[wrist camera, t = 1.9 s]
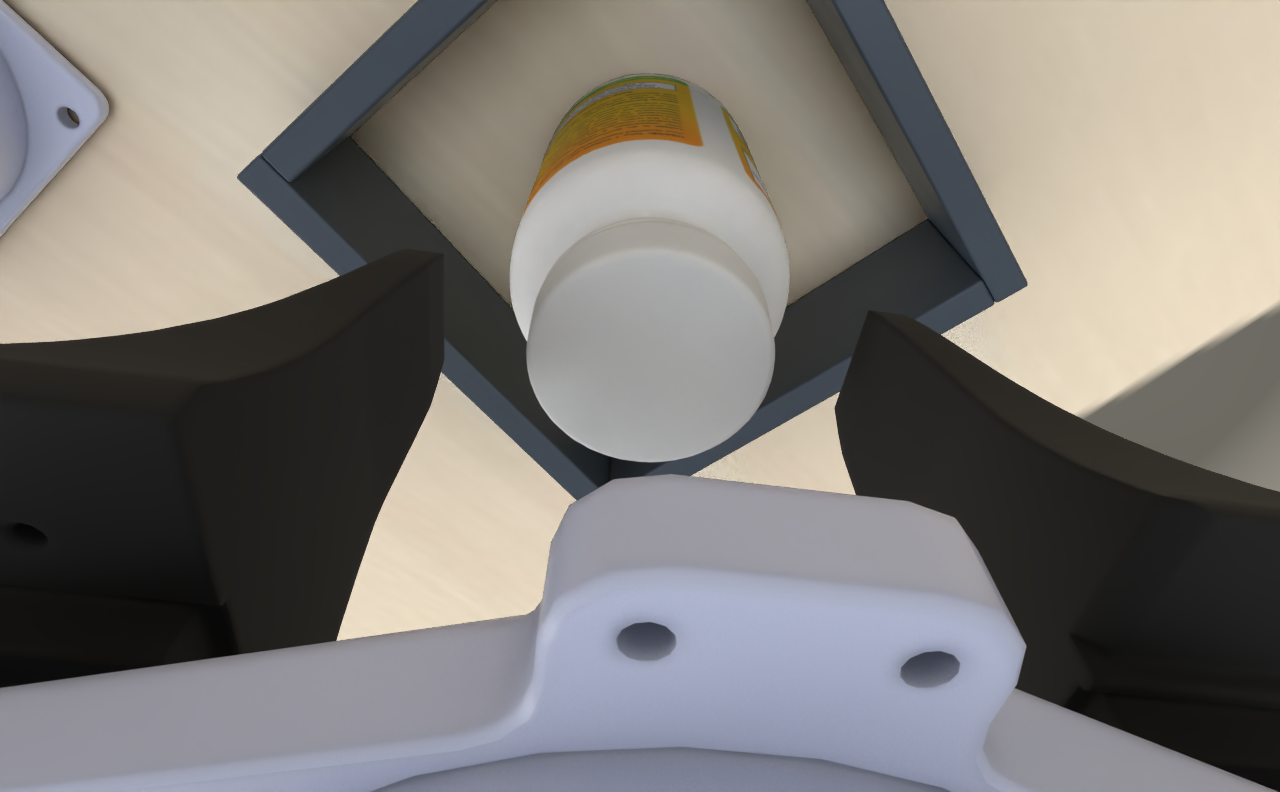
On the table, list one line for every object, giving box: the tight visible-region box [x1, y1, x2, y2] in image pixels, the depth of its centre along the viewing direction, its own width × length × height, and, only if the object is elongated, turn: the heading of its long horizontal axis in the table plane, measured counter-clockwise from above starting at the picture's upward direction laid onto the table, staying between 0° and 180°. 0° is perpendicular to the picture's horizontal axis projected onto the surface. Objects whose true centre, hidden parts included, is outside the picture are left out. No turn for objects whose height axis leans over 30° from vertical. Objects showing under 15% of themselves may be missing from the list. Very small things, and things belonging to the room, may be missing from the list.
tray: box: [237, 0, 1027, 500], centre depth 18 cm, size 13×13×4 cm
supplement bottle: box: [510, 74, 790, 462], centre depth 16 cm, size 5×5×10 cm
